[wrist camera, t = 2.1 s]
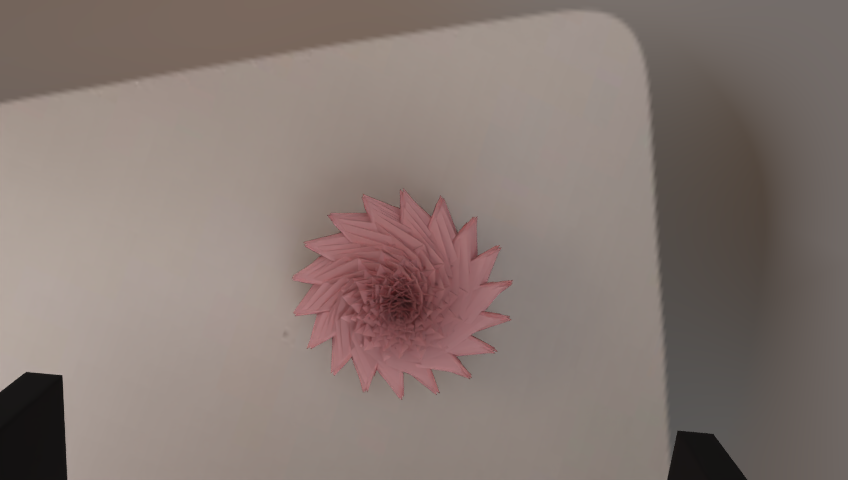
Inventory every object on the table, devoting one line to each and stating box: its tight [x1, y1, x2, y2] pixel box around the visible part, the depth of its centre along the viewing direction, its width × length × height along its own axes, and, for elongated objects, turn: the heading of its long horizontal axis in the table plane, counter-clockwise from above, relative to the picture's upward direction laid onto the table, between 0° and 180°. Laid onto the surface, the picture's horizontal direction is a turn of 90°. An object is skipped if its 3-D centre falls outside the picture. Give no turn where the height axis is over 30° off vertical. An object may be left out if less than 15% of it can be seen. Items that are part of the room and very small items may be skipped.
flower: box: [292, 188, 513, 400], centre depth 25 cm, size 8×8×6 cm
